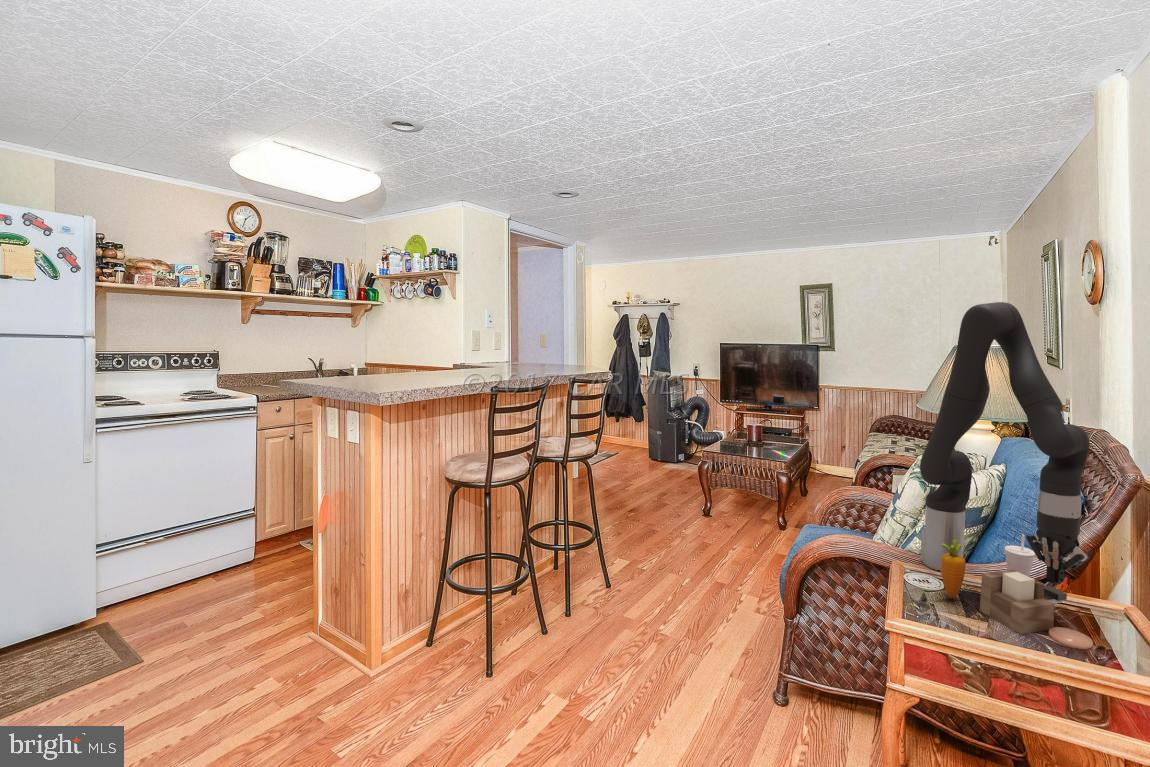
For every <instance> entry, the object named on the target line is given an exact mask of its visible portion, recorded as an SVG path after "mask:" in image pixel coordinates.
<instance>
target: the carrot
mask: <svg viewBox="0 0 1150 767" xmlns="http://www.w3.org/2000/svg"><path fill="white" fill-rule="evenodd" d="M942 546H944V547H945V548H946V549H947V550H948V551H949V553H946V554H944V555H943V556H942V559H941V571H940V572H941V579H942V583H943V587H944V590H945V592H946V594H947V596H948V597H949V599H951V600H952V599H954V598H955V597H957V595H958V593H960V590H961V588H962V585H963V582H964V578H965V573H966V563H967V562H966V559H965V558H964V556H963V557H961V556H960V555H957V553H958V551H959V550H960V547H961V545H960V544H958V543H957V540H955V539H954V540H953V545H951V547H950V548H949V547H948V546H947V545H946V544H942Z"/></svg>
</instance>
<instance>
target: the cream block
mask: <svg viewBox="0 0 1150 767" xmlns="http://www.w3.org/2000/svg"><path fill="white" fill-rule="evenodd" d="M1035 580H1036V579H1034V578H1032V577H1031V576H1030V577H1028V576H1026V575H1024V574H1021V573H1019V572H1011V573H1004V574H1003V583H1002V593H1003V594H1005V595H1007V596H1009V597H1011V598H1013V599H1015V600H1017V601H1019V602H1021V601H1028V600H1033V599H1034V584H1035Z"/></svg>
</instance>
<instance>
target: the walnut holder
mask: <svg viewBox="0 0 1150 767" xmlns="http://www.w3.org/2000/svg"><path fill="white" fill-rule="evenodd" d="M1011 572H1017V571H1015V570H1013V569H1010V570H1007V569H1005V570H1004V569H1003V570H996V571H995V570H994V571H987V572H981V582H980V585H981V586H980V598H979V599H980V604H979V611H980V610H981V611H982V612H981V611H980V612H981V613H983V614H985V615H987V616H988V617H990V618H992V619H993V620H996V621H997V622H999V623H1001V624H1003V625H1004V626H1006V627H1008V628H1009V629H1011V630H1012V631H1015V633H1016V632H1017V633H1019V634H1020V635H1023V634H1030V633H1037V632H1043V631H1049V629H1050V628H1053V627H1054V618H1055V605H1056V603H1052V602H1050V601H1047V600H1045V599H1043V593H1044V586H1045V583H1043V582H1041V581H1039V580H1037V579H1035V584H1034V599H1033V600H1028V601H1021V602H1019V601H1017V600H1015V599H1013V598H1011V597H1009V596H1007V595H1005V594H1003V593H1002V583H1003V574H1004V573H1011Z"/></svg>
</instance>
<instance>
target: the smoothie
mask: <svg viewBox="0 0 1150 767" xmlns="http://www.w3.org/2000/svg"><path fill="white" fill-rule="evenodd" d="M1025 538H1026V536H1025V534H1024V533H1021V539H1020V540H1021V543H1020V544H1021V545H1020V546H1019V545H1006V546H1004V548H1003V552H1004V554H1005V559H1006V560H1005V561H1006V570H1010V569H1013V570H1015V571H1017V572H1019V573H1021V574H1024V575H1026V576H1028V577H1030V578H1031V571H1032V568H1033V564H1034V559H1036V558H1037V556H1036V555H1035V553H1034V551H1033V549H1032V548H1031V549H1030V548H1028V547H1025Z"/></svg>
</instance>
